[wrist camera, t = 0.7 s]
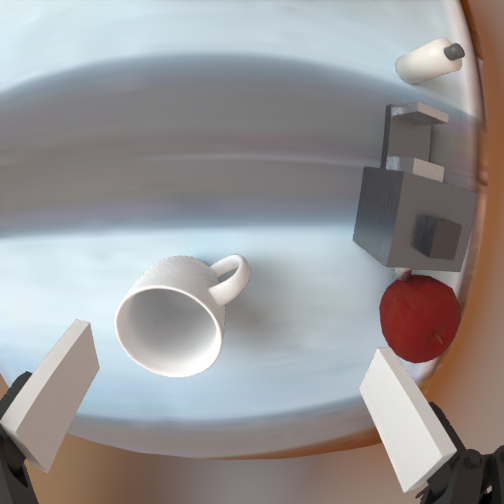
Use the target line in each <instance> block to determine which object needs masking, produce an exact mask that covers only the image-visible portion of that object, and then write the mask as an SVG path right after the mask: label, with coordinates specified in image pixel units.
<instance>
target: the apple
mask: <svg viewBox="0 0 504 504" xmlns="http://www.w3.org/2000/svg"><path fill="white" fill-rule="evenodd" d="M379 309H380V321H381V327H382V333H383V335H384V337H385V339H386V341H387V343H388V345H389V347H391V349H392V350H393V351H394V353H395V354H396V355H397V356H399V357H401V358H402V359H404V360H406V361H409V362H412V363H422V362H427V361H430V360H433V359H434V358H436V357H438V356H440V355H441V354H442V353H443V352H444V351H445V350H446V349H447V348H448V347H449V345H450V344H451V342H452V340H453V339H454V337H455V335H456V332H457V329H458V326H459V323H460V320H461V310H460V306H459V303H458V301H457V298H456V296H455V294H454V292H453V289H452V288H451V287H449V286H447V285H446V284H444V283H442V282H440V281H438V280H436V279H434V278H432V277H430V276H423V275H410V278H409V280H408V281H402V280H399V279H397V280H395V281H394V282H393V283H392V284H391V285H390V286H389V287H388V288H387V289H386V291H385V293H384V295H383V297H382V300H381V304H380V308H379Z"/></svg>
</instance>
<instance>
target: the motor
mask: <svg viewBox="0 0 504 504" xmlns="http://www.w3.org/2000/svg"><path fill="white" fill-rule="evenodd" d="M443 123H448V114H446V113H444V112H442V111H440V110H437V109H435V108H433V107H430V106H428V105H425V104H423V103H420V102H415V103H411V104H407V105H402V106H399V107H397V106H394V105H389V106H386V118H385V131H384V142H383V152H382V161H381V169H380V168H372V167H364V172H363V179H362V187H361V193H360V200H359V206H358V213H357V218H356V224H355V230H354V235H353V241H354V242H356V243H357V244H358V245H359V246H361V247H362V248H363V249H364V250H366V251H367V252H368V253H370V254H371V255H372V256H373V257H374V258H376V259H377V260H378V261H379V262H381V263H382V264H383V265H384V266H386V267H395V268H394V272H393V277H395V278H396V279H399V280H402V281H408V280H409V278H410V275H411V271H412V269H423V270H437V271H451V272H460V271H461V268H462V264H463V260H464V257H465V253H466V249H467V245H468V241H469V237H470V232H471V228H472V223H473V218H474V212H475V207H476V201H477V195H478V194H477V193H474V192H471V191H468V190H465V189H462V188H459V187H456V186H453V185H450V184H447V183H443V175H444V167H442V166H439V165H436V164H433V163H430V162H428V161H429V152H430V140H431V125H432V124H443Z"/></svg>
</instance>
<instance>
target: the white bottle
mask: <svg viewBox="0 0 504 504" xmlns="http://www.w3.org/2000/svg"><path fill="white" fill-rule="evenodd" d="M464 56H465V53H464V50H463V48H462V47H461V46H460V45H459V44H457V43H455V44H453V43H452V42H451V41H449V40H448V39H446V38H438V39H436V40H434V41H432V42H430V43H428V44H425V45H423V46H421V47H419V48H417V49H415V50H413V51H411V52H409V53H408V54H406V55H404V56H402V57H400V58H398V59H397V60H396V63H395V68H396V72H397V74H398V75H399V77H400V78H401V79H402V80H403V81H404V82H406V83H408V84H416V83H419V82H422V81H425V80H428V79H431V78H434V77H438V76H441V75H444V74H448V73H451V72H455V71H458V70H460V69H461V67H462V59H461V58H463V57H464Z"/></svg>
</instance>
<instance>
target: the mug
mask: <svg viewBox="0 0 504 504" xmlns="http://www.w3.org/2000/svg"><path fill="white" fill-rule="evenodd" d="M236 268H238V269H237V271H236V272H235V274H234V275H233V276H232V277H230V278H229V279H228V280H226V281H224V282H222V283H219V281H218V277H220V276H221V275H223V274H225V273H227V272H229V271H231V270H234V269H236ZM250 273H251V272H250V267H249V264H248V263H247V261H246V260H245V258H244V257H242V256H240V255H231V256H228V257H226V258H224V259H222V260H220V261H218V262H216V263H214V264H212V265H211V266H207V265H206V264H205V263H203V262H202V261H200V260H198V259H195V258H193V257H189V256H173V257H169V258H167V259H164V260H162V261H159V262H158V263H157V264H154V265H153V266H152V267H150V268H149V269H148V270H147V271H145V272H144V273H143V275H142V276H140V277H139V279H138V280H137V281H136V282H135V284H134V285H133V286H132V287H131V289H130V290H129V291H128V292H127V294H126V296H125V297H124V299H123V300H122V301H121V303H120V305H119V307H118V309H117V312H116V316H115V330H116V334H117V337H118V340H119V342H120V344H121V346H122V347H123V349H124V350H125V352H126V353H127V354H128V355H129V356H130V357H131V358H132V359H133V360H134V361H135V362H136V363H138V364H139V365H140V366H142V367H143V368H145V369H147V370H149V371H151V372H153V373H156V374H159V375H163V376H167V377H188V376H193V375H196V374H199V373H201V372H203V371H205V370H206V369H208V368H209V367H210V366H211V365H212V364H213V363H214V362H215V361H216V359H217V358H218V356H219V354H220V351H221V347H222V341H223V334H224V325H225V307H224V305H225V304H227V303H228V302H230V301H231V300H233V299H234V298H235V297H236V296H237V295H238V294H239V293H240V292H241V291H242V290H243V289H244V287H245V286H246V284H247V283H248V281H249V278H250Z"/></svg>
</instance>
